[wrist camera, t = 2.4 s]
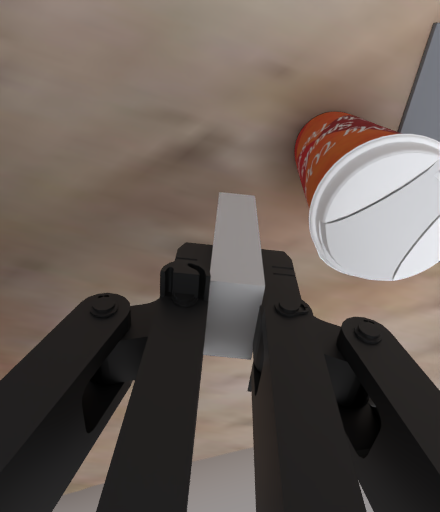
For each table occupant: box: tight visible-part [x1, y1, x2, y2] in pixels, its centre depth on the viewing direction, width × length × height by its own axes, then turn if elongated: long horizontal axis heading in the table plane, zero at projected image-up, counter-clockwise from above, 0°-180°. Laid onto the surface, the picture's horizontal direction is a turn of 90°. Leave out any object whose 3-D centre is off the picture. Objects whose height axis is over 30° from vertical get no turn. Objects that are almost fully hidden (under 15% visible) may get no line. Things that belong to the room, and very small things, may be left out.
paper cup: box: [295, 112, 440, 281], centre depth 23 cm, size 8×8×14 cm
